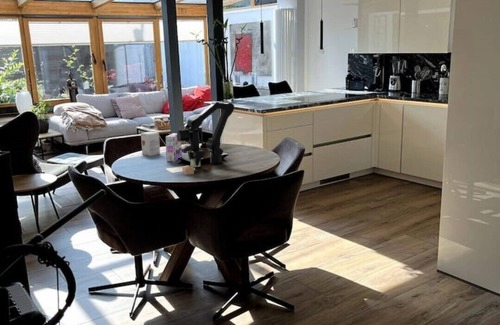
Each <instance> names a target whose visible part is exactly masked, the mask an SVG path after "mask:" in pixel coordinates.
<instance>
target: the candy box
mask: <svg viewBox="0 0 500 325" xmlns="http://www.w3.org/2000/svg"><path fill="white" fill-rule="evenodd" d="M164 139H165V153H166V154H165V155H166V156H165V157H166V162H173V163H174V162H177V161H178V157H180V156H182V157H183V153H182V150H181V147H182V141H178V140H177V132H176V133H175V132H174V133H171V134H169V135H166V136H165V138H164Z"/></svg>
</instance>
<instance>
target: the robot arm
mask: <svg viewBox="0 0 500 325" xmlns="http://www.w3.org/2000/svg"><path fill="white" fill-rule="evenodd" d="M218 109H220V116H219V119H218V122H217V124H216V127H215V128H214V129H215V130H214V132H213V136H211V137H208V139H207V142H206V149H207V151H208V152H209V153H210V156H209V163H210V164H212V165H220V164H224V162H223V156H222V155H223V154H224V150H223V149H222V148H221V137H222V135H223V132H224V130H225V127H226V125H227V121H228V119H229V117H230V116H231V115H232V113H233V112H234V110H235V105H234V103H233V102H227V101H225V102H218V101H212V103H211V104H210V105H208V106H207V107H206V108H205V109H203V110H202V111H201V112H200V113H198V114H197V115H195V116H192V117H191V118H189V119H188V120H187V124H186V125H185V126H184V128H183V129H177V132H176V133H177V140H178V141H181V142H187V141H188V142H187V144H184V145H183V146H182V145H181V150H182V154H188V155H189V156H190V159H195V162H196V166H198V165H199V162H200V163H201V160H202V159H203V158H202V157H203V156H206V151H205V150H203V149H201V147H200V144H201V141H200V134H199V133H202V132H203V130H202V129H201V128H200V127H201V126H202V125H203V122H204V121H205V120H206V119H208V117H210V116H211V115H212V114H213V113H215V111H217V110H218Z"/></svg>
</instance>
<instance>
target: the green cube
mask: <svg viewBox="0 0 500 325" xmlns="http://www.w3.org/2000/svg"><path fill="white" fill-rule="evenodd" d="M190 166H192V167H193V168H198V167H201V161H200V162H199V165H198V166H196V162H195V159H191V158H190Z"/></svg>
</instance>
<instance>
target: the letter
mask: <svg viewBox="0 0 500 325" xmlns="http://www.w3.org/2000/svg"><path fill="white" fill-rule="evenodd" d="M185 166H186V165H184V166H175V167H169V168H167V167H166V168H165V169H166V170H167V171H168V172H170V173H171V174H172V173H173V174H174V173H179V172H182V167H185Z"/></svg>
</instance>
